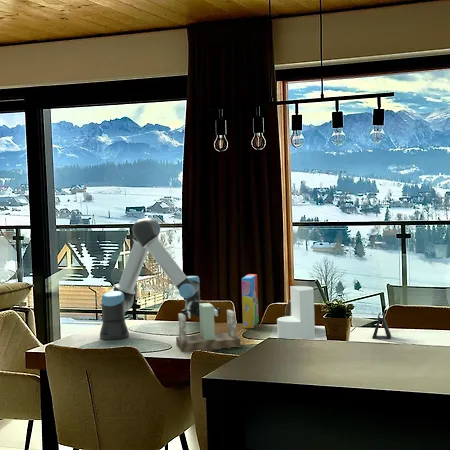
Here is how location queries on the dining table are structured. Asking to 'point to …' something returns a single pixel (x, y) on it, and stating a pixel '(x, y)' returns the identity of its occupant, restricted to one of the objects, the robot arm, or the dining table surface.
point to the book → (207, 321)
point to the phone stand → (388, 334)
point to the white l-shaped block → (299, 315)
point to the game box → (250, 301)
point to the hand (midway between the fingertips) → (203, 314)
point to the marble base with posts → (199, 343)
